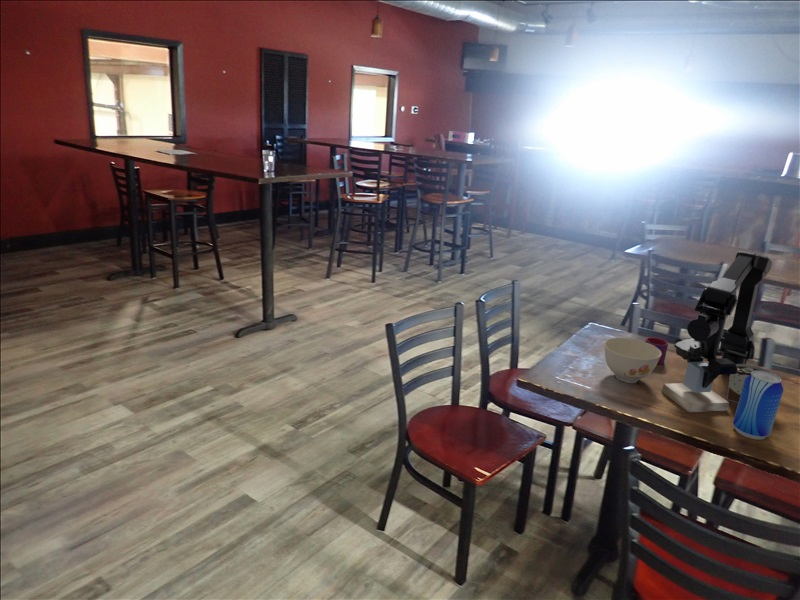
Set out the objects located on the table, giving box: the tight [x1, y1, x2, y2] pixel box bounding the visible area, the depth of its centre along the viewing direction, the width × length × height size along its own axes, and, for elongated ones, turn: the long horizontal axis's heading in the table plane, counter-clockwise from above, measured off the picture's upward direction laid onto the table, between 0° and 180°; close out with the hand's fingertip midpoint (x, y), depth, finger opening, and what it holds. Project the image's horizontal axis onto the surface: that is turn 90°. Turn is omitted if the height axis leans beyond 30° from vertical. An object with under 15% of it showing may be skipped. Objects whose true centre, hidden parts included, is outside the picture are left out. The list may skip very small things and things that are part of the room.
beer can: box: [732, 371, 784, 441], centre depth 147 cm, size 8×8×16 cm
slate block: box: [682, 360, 714, 393], centre depth 162 cm, size 5×5×7 cm
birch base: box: [661, 382, 730, 413], centre depth 164 cm, size 12×12×2 cm
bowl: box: [603, 337, 661, 384], centre depth 175 cm, size 16×16×10 cm
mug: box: [645, 336, 669, 366], centre depth 191 cm, size 7×10×7 cm
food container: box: [726, 363, 775, 404], centre depth 165 cm, size 12×6×10 cm, turn 59°
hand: (697, 383), depth 163 cm, fingers closed on slate block, 5 cm apart
